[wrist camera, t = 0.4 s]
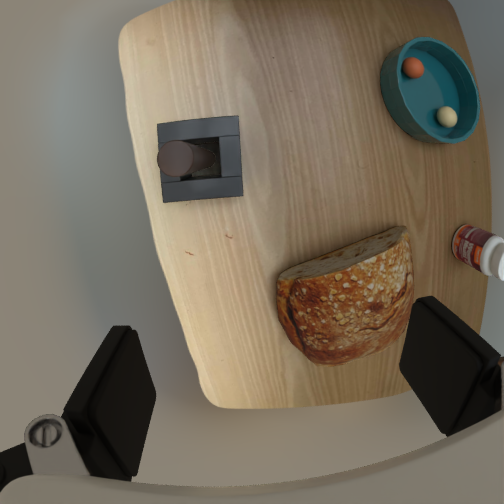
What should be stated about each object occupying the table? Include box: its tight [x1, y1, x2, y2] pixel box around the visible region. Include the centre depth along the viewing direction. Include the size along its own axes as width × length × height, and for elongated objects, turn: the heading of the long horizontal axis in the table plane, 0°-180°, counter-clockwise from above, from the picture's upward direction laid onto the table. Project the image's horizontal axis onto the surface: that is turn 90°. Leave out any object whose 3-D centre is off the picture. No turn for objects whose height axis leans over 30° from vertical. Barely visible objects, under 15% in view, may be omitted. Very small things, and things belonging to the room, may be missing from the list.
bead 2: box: [437, 106, 457, 128], centre depth 32 cm, size 3×3×3 cm
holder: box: [157, 116, 243, 203], centre depth 31 cm, size 8×8×8 cm
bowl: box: [380, 37, 480, 144], centre depth 31 cm, size 15×15×5 cm
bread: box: [276, 226, 414, 367], centre depth 37 cm, size 20×18×10 cm
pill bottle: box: [452, 225, 504, 281], centre depth 35 cm, size 6×6×11 cm
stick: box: [157, 140, 216, 177], centre depth 26 cm, size 2×2×20 cm
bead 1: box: [402, 57, 424, 79], centre depth 30 cm, size 3×3×3 cm
